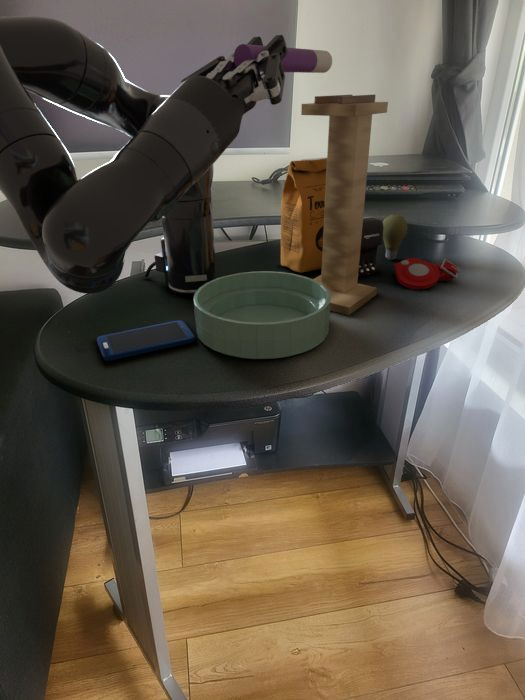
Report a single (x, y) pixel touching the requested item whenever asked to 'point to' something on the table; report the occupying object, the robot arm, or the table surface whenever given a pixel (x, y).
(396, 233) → the light bulb
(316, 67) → the glue stick
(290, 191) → the coffee package
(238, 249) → the table surface
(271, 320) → the bowl
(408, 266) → the tracker holder
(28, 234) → the robot arm
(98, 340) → the cell phone
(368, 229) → the battery charger
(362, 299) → the stand
